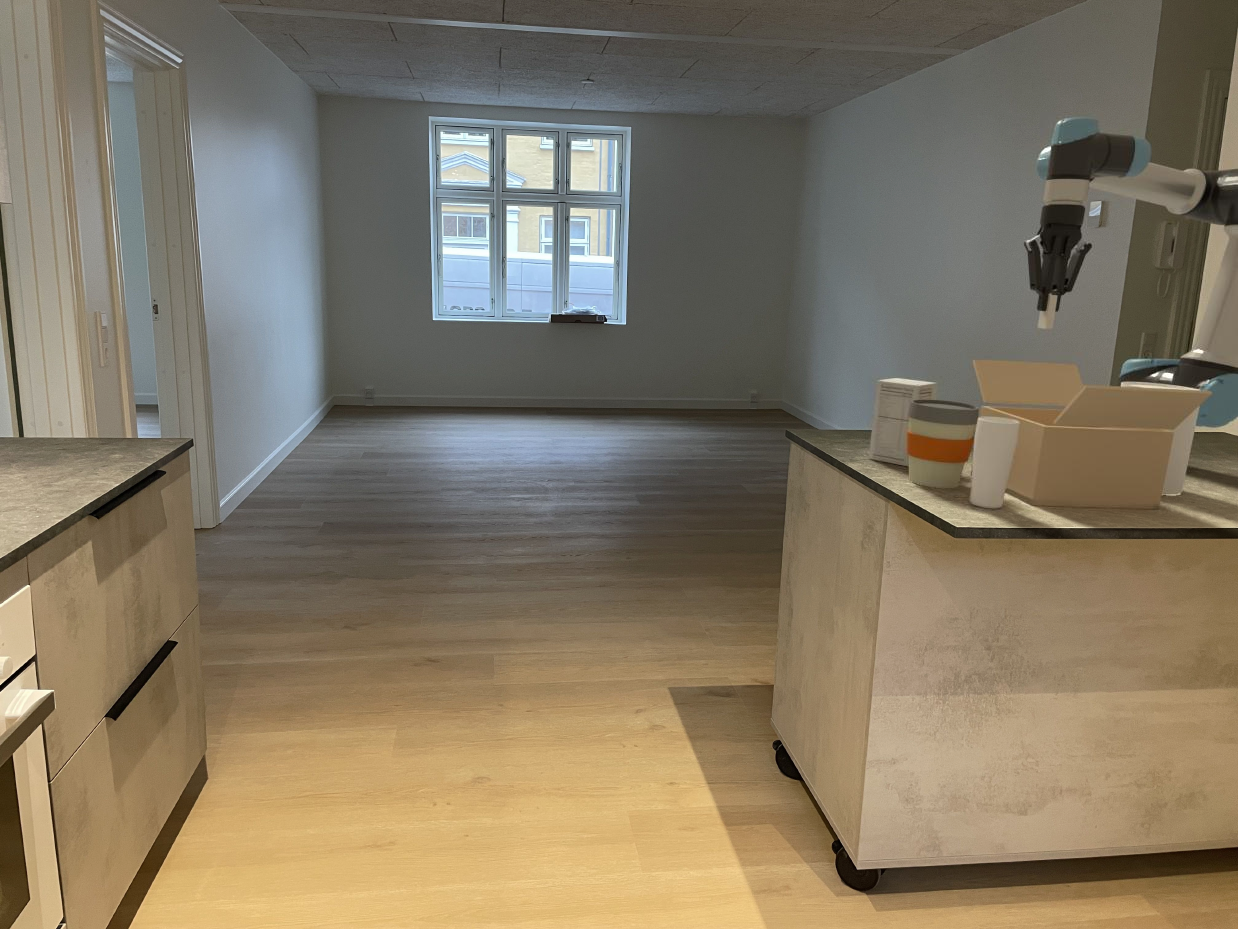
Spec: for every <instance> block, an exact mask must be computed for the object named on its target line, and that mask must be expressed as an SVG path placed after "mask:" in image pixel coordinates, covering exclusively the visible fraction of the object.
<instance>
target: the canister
mask: <svg viewBox="0 0 1238 929" xmlns="http://www.w3.org/2000/svg"><path fill="white" fill-rule="evenodd" d="M1121 387H1140V388H1160V389H1181V390H1199V389H1194V388H1189V387H1183V386H1175V385H1167V384H1158V383H1146V382H1122V383H1121ZM1199 407H1200V406H1199ZM1199 407H1198V408H1196V409H1195V410H1194V411H1193V412H1192V413H1191V414H1190V415H1189V416H1188V417H1187V418H1186V419H1185V420H1184V421H1183V422H1182V423H1180V424H1179V425H1178V426H1177V427H1176V428H1175V429H1174V430H1169V429H1164V430H1168V431H1172V432H1174V436H1173V441H1172V446H1171V451H1170V456H1169V461H1168V466H1167V471H1166V476H1165V481H1164V486H1163V491H1162V494H1165V495H1166V494H1178V493H1181V492H1183V488H1184V483H1185V478H1186V474H1187V469H1188V465H1189V459H1190V454H1191V449H1192V444H1193V440H1194V435H1195V430H1196V427H1197V426H1196V421H1197V416H1198V411H1199Z"/></svg>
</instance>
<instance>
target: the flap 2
mask: <svg viewBox="0 0 1238 929" xmlns="http://www.w3.org/2000/svg"><path fill="white" fill-rule="evenodd" d="M1083 386H1084V387H1083V388H1082V389H1081V390H1080V391H1079V392H1078V394H1077V395H1076V396H1075V397H1074V398H1073V399H1072V401H1071V402H1070V403H1069V404H1068V405H1067V406H1064V408H1063V409H1062V410H1063V411H1062V412H1061V413H1060V414H1059V416H1058V417H1057V418H1056V419H1055V420H1054V421H1053V423H1054V425H1076V426H1099V427H1122V428H1146V429H1169V430H1174V429H1175V428H1176V427H1177V426H1178V425H1179V424H1180V423H1182V422H1183V421H1184V420H1185V419H1186V418H1187V417H1188V416H1189V415H1190V414H1191V413H1192V412H1193V411H1194V410H1195V409H1196V408H1198V407H1199V406H1200V405H1201V404H1202V403H1203V402H1204V401H1205V400H1206V399H1207V398H1208V397H1209V396H1210V395H1211V394H1212V392H1211V391H1202V390H1181V389H1160V388H1140V387H1119V386H1118V385H1116V386H1115V385H1099V384H1098V385H1093V384H1084V385H1083Z"/></svg>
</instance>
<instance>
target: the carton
mask: <svg viewBox="0 0 1238 929" xmlns="http://www.w3.org/2000/svg"><path fill="white" fill-rule="evenodd" d="M1063 410H1064V409H1058V408H1040V407H1039V408H1036V407H1035V408H1034V407H1017V406H1016V407H1015V406H1014V407H1013V406H989V405H981V406H980V410H979V417H1000V418H1007V419H1012V420H1016V421H1019V422H1020V426H1019V435H1018V441H1017V447H1016V451H1015V455H1014V459H1013V463H1012V466H1011V470H1010V474H1009V478H1008V482H1007V486H1006V490H1005V494H1008V495H1009V496H1011V497H1014V498H1015V499H1018V500H1020V501H1022V502H1024V503H1026V504H1028V505H1030V506H1038V507H1039V506H1041V507H1042V506H1044V507H1045V506H1047V507H1075V508H1103V509H1106V508H1107V509H1134V510H1138V509H1139V510H1159V509H1160V505H1161V500H1162V497H1163V496H1162V491H1163V486H1164V481H1165V476H1166V471H1167V466H1168V461H1169V456H1170V451H1171V446H1172V441H1173V436H1174V432H1172V431H1168V430H1164V429H1146V428H1122V427H1099V426H1076V425H1054V423H1053V421H1054V420H1055V419H1056V418H1057V417H1058V416H1059V414H1060V413H1061V412H1062V411H1063ZM972 466H973V462H972V464H971V467H972ZM970 476H971V477H972V469H971V470H970Z"/></svg>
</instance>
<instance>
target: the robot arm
mask: <svg viewBox="0 0 1238 929" xmlns="http://www.w3.org/2000/svg"><path fill="white" fill-rule="evenodd" d="M1099 124H1100V122H1099V121H1098V119H1097V118H1093V117H1085V116H1083V117H1082V116H1081V117H1080V116H1078V117H1076V116H1075V117H1069V118H1068V117H1067V118H1063V119H1060V120H1058V121H1057V122H1056V124H1055V126H1054V131H1053V134H1052V139H1051V143H1050V145H1049V146H1046V147H1045V148H1044V149H1043V150H1042V151H1041V152H1040V153H1039V155H1038V157H1037V161H1036V172H1037V175H1038V176H1039V178H1040V179H1041V180H1043V181H1044V182H1046V183H1045V188H1044V196H1043V200H1042V201H1043V202H1044V203H1046V204H1044V205H1043V206H1042V207H1041V214H1040V221H1039V225H1040V227H1039V230H1038V231H1037V232H1036V236H1034V237H1032V238H1031V239H1026V240H1024V242H1023V246H1024V248H1025V250H1026V252H1027V261H1028V263H1027V264H1028V266H1027V267H1028V275H1029V276H1028V277H1029V280H1028V281H1029V289H1030V290H1031V291H1034V292H1036V294H1037V295H1038V298H1037V304H1036V305H1037V306H1036V309H1037V311H1038V312H1039V317H1038V323H1037V329H1045V330H1053V328H1054V321H1055V316H1056V315H1055V314H1056V313H1057V312H1059V310H1060V307H1061V306H1060V305H1061V299H1062V296H1064V295H1065V294H1066V293H1070V292H1072V291H1073V288H1074V287H1075V284H1076V281H1077V279H1078V276H1079V273H1080V270H1081V268H1082V265H1083V263H1084V261H1085V258H1086V255H1087V254H1088V253H1089V251H1091V250H1092V248H1093V244H1092V243H1091V242H1086V240H1084V239H1083V234H1082V225H1083V224H1084V219H1085V214H1086V207H1085V205H1084V204H1085V203H1087V202H1088V197H1089V196H1088V195H1089V188H1091V189H1095V190H1099V191H1103V192H1106V193H1111V194H1115V195H1119V196H1123V197H1128V198H1131V199H1134V200H1139V201H1143V202H1147V203H1149V204H1150V203H1152V204H1154V205H1160V206H1163V207H1166V209H1167V211H1168V212H1169V213H1171V214H1174V215H1178V216H1181V217H1185V218H1188V219H1191V220H1195V221H1196V220H1197V221H1199V222H1204V223H1208V224H1212V225H1218V226H1223V231H1224V232H1225V233H1226V234H1225V235H1227V237H1228V241H1227V244H1226V246H1225V250H1224V252H1223V253H1224V254H1223V256H1222V259H1221V262H1220V265H1219V268H1218V271H1217V274H1216V277H1215V280H1214V283H1213V286H1212V289H1211V292H1210V294H1209V298H1208V299H1207V303H1206V307H1205V310H1204V313H1203V316H1202V319H1201V322H1200V323H1199V328H1198V332H1197V334H1196V337H1195V339H1194V343H1193V345H1192V349H1191V350H1189V351H1188V352H1187V353H1185V354H1183V355H1181V356H1180V358H1179V359H1178V358H1177V359H1176V358H1175V359H1174V358H1173V359H1172V358H1130V359H1127V360H1126V361H1125V362H1124V363H1123V364H1122V367H1121V370H1120V371H1121V372H1120V374H1119V376H1118V384H1117V386H1119V387H1121V383H1122V382H1146V383H1158V384H1167V385H1175V386H1183V387H1189V388H1194V389H1199V390H1202V391H1211V392H1212V394H1211V395H1210V396H1209V397H1208V398H1207V399H1206V400H1205V401H1204V402H1203V403H1202V404H1201V405H1200V407H1199V411H1198V416H1197V421H1196V426H1195V427H1205V428H1213V429H1214V428H1220V427H1224V426H1227V425H1229V424H1230V422H1233V421H1235V420H1236V419H1237V418H1238V168H1232V169H1231V168H1230V169H1221V170H1201V169H1197V168H1187V169H1185V170H1180V169H1178V168H1177V169H1176V168H1173V167H1169V166H1165V165H1162V164H1157V163H1154V162H1150V160H1151V154H1152V149H1151V148H1152V147H1151V144H1150V142H1149V141H1148V140H1147V139H1146V138H1144V137H1141V136H1135V135H1133V134H1129V135H1125V134H1116V133H1105V132H1099V131H1100V128H1099V126H1100V125H1099ZM1040 247H1041V249H1042V253H1041V250H1040ZM1073 249H1074V251H1073ZM1072 251H1073V253H1072ZM1041 258H1042V259H1041Z"/></svg>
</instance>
